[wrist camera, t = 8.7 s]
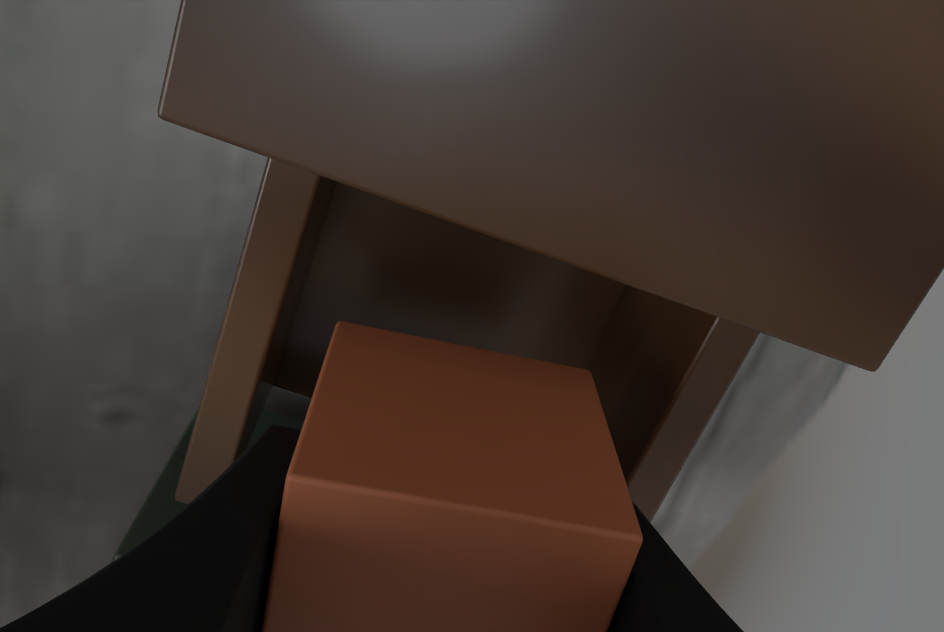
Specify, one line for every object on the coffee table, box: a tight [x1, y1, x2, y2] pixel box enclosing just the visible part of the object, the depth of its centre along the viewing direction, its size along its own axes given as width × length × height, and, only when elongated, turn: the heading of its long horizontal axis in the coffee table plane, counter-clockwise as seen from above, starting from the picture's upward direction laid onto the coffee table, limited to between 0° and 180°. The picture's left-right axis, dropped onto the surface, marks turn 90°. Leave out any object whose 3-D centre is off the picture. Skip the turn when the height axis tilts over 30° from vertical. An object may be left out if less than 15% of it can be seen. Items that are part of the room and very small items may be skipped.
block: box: [261, 321, 643, 632], centre depth 11 cm, size 4×4×4 cm
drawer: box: [112, 157, 760, 562], centre depth 16 cm, size 18×9×6 cm, turn 159°
